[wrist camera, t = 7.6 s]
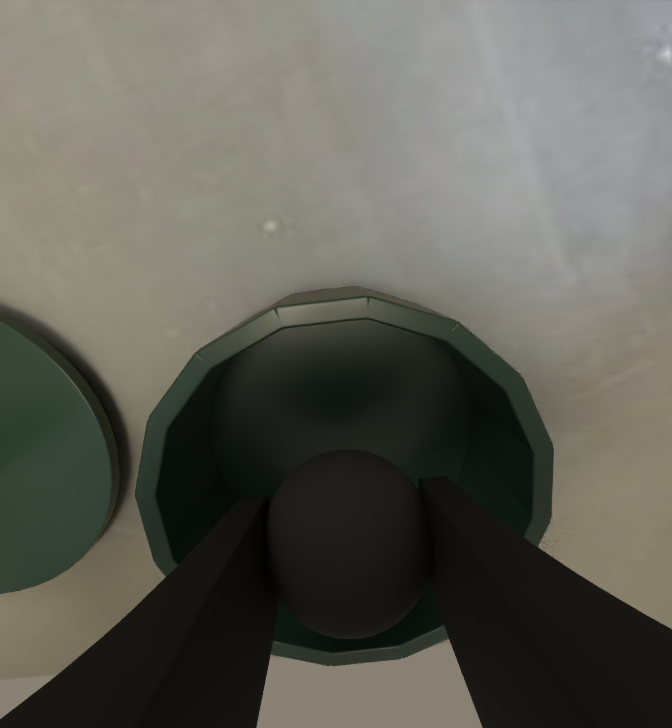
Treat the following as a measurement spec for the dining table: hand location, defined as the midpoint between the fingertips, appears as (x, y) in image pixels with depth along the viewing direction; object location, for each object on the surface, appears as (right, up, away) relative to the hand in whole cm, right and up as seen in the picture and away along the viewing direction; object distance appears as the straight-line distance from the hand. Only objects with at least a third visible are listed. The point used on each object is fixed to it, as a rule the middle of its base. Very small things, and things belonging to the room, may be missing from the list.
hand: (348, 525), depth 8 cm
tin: (0, +1, +5) cm, 5 cm away
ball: (0, 0, 0) cm, 0 cm away
